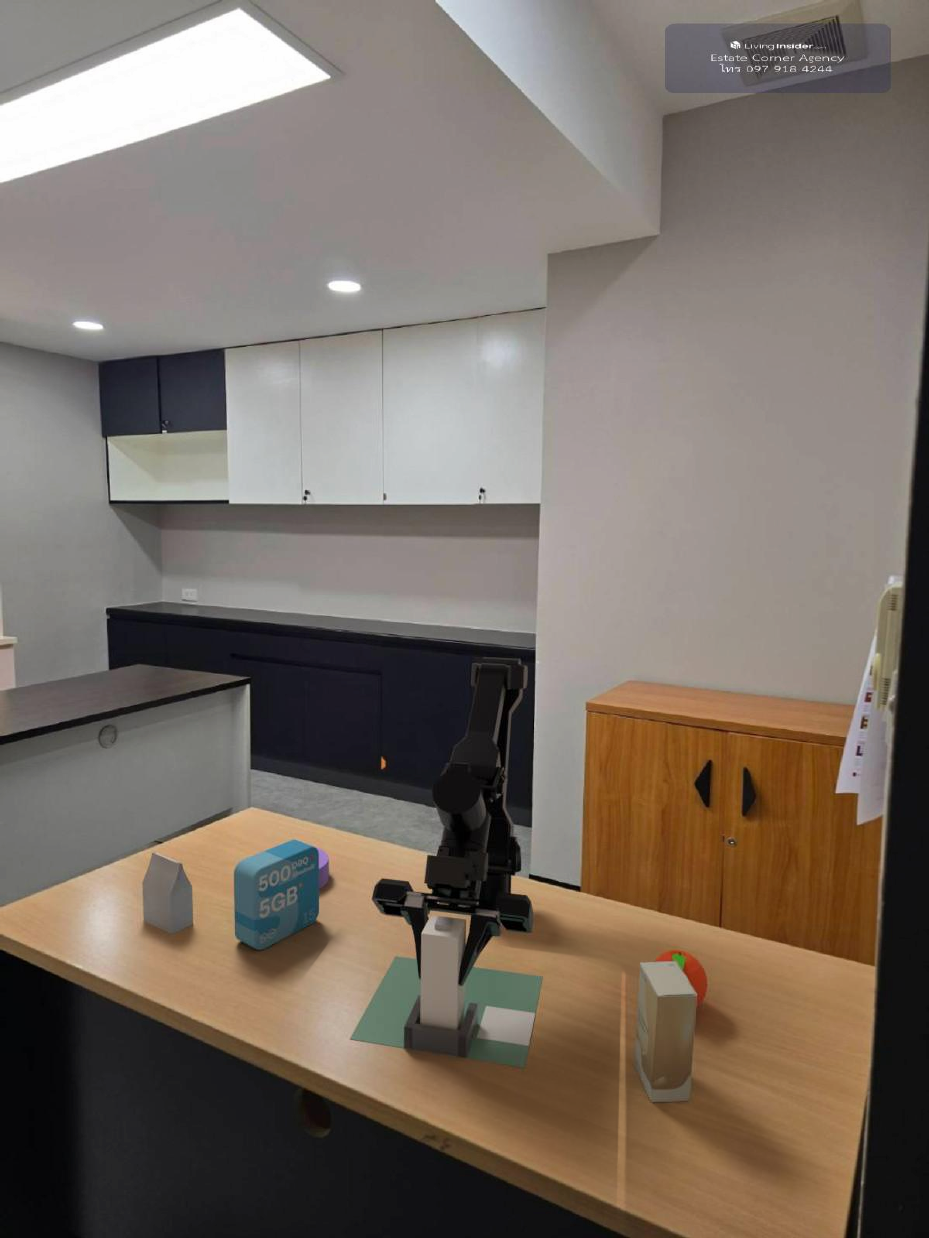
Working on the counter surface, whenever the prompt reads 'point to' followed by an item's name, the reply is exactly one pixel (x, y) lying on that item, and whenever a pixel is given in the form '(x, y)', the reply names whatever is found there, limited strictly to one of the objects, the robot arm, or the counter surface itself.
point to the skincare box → (665, 1031)
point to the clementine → (688, 970)
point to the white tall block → (442, 972)
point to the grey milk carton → (167, 895)
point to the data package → (276, 893)
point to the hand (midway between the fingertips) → (440, 982)
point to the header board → (490, 1015)
